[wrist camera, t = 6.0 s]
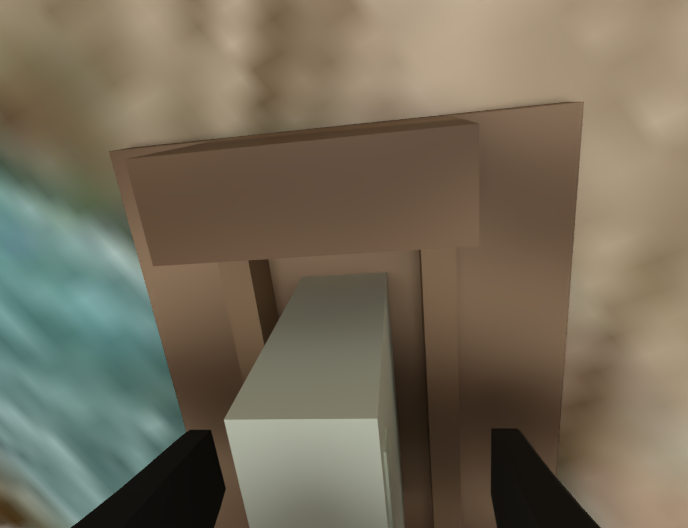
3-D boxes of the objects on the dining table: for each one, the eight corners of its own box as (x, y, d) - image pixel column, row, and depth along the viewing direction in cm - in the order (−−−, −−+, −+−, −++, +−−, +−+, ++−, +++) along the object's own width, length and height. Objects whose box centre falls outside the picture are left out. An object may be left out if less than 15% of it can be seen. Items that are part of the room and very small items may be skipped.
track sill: (539, 556, 16) (595, 737, 12) (233, 545, 18) (176, 699, 13) (567, 101, 11) (692, 101, 6) (130, 148, 13) (-25, 173, 8)
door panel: (405, 493, 15) (409, 732, 9) (332, 492, 15) (293, 721, 10) (388, 272, 12) (381, 418, 6) (300, 277, 12) (220, 420, 7)
